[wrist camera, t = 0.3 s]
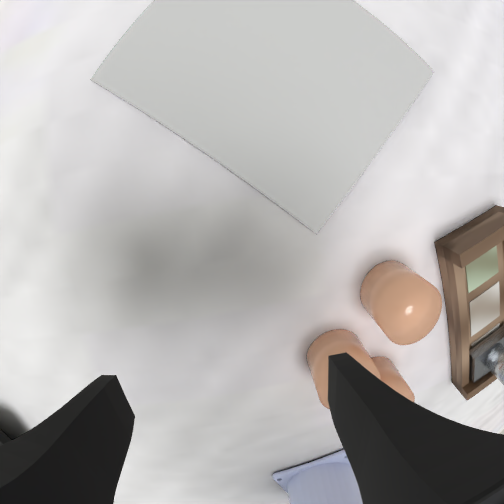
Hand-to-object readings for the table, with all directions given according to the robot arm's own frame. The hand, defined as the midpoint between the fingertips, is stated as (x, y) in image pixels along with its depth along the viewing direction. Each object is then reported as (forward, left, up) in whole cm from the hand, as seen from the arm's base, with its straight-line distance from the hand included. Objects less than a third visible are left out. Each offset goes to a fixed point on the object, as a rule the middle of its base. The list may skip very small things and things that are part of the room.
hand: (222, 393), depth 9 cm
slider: (-16, -17, -8) cm, 25 cm away
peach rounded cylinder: (-8, -4, -10) cm, 13 cm away
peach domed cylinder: (-5, -9, -10) cm, 14 cm away
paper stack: (+10, -14, -10) cm, 20 cm away
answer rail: (-11, -17, -10) cm, 23 cm away
